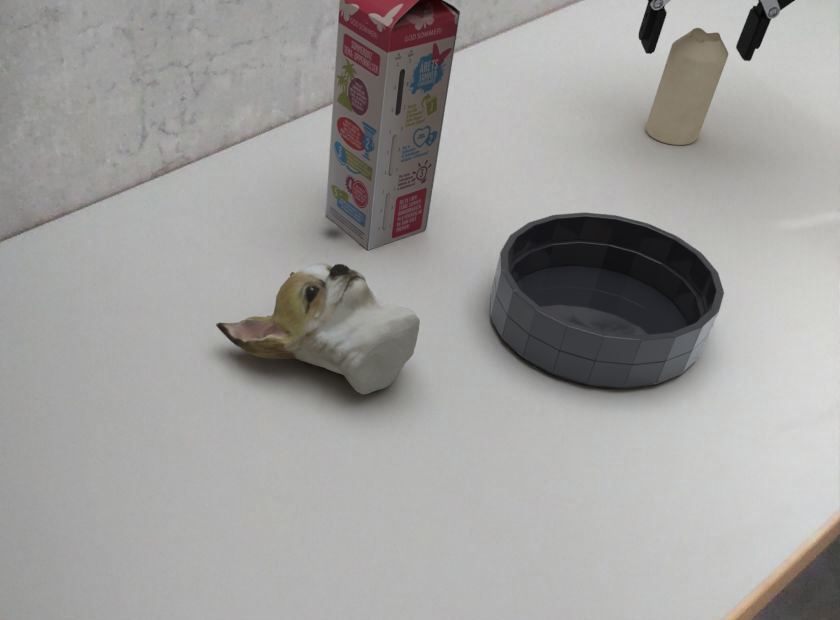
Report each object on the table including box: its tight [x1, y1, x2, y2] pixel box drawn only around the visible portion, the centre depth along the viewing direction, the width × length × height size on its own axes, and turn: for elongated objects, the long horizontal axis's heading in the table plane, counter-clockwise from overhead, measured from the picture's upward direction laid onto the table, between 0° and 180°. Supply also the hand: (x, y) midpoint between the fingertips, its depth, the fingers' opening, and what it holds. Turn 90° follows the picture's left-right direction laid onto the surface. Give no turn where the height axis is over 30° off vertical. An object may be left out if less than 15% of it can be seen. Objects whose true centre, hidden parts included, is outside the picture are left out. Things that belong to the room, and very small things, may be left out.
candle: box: [645, 27, 729, 146], centre depth 97 cm, size 6×6×10 cm
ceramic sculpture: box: [215, 263, 421, 396], centre depth 71 cm, size 11×9×15 cm
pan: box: [489, 212, 725, 389], centre depth 76 cm, size 17×17×5 cm
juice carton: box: [325, 0, 461, 251], centre depth 79 cm, size 7×7×22 cm
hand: (694, 51), depth 95 cm, fingers open, 9 cm apart
